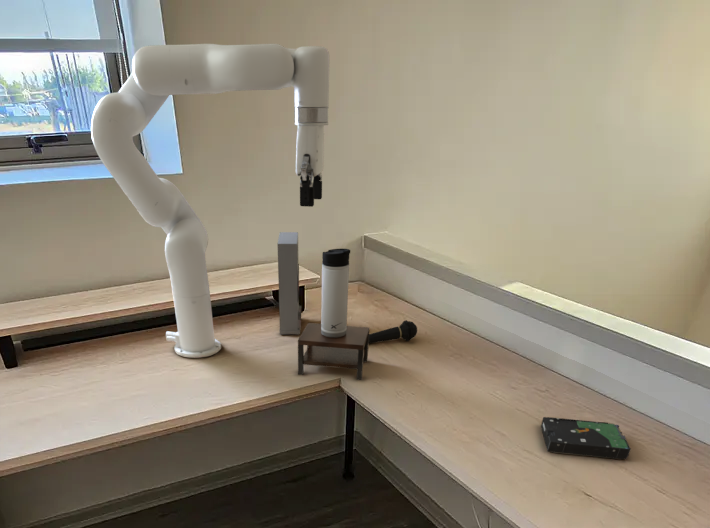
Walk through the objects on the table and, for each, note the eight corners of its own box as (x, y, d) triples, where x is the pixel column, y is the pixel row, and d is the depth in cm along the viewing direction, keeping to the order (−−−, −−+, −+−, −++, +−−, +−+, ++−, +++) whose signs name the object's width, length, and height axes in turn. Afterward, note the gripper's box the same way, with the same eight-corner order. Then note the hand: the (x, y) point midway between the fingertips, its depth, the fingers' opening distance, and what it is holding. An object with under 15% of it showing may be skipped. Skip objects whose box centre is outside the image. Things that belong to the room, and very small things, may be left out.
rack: (298, 374, 140) (297, 340, 134) (308, 355, 149) (308, 322, 144) (361, 380, 137) (363, 345, 132) (367, 360, 146) (369, 327, 141)
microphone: (350, 357, 155) (418, 343, 157) (351, 341, 151) (421, 326, 152) (345, 345, 158) (411, 330, 160) (345, 328, 154) (414, 314, 156)
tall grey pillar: (300, 335, 161) (300, 243, 146) (279, 335, 161) (277, 243, 147) (301, 318, 172) (300, 232, 158) (281, 318, 172) (279, 232, 158)
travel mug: (338, 340, 134) (341, 253, 122) (316, 334, 137) (316, 249, 126) (352, 332, 138) (356, 247, 126) (330, 326, 141) (332, 243, 130)
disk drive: (546, 454, 110) (627, 460, 107) (550, 441, 108) (632, 448, 106) (539, 427, 118) (614, 433, 116) (542, 416, 117) (618, 421, 114)
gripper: (303, 115, 130) (303, 196, 140) (285, 119, 117) (287, 208, 127) (334, 115, 129) (332, 196, 139) (320, 119, 115) (319, 209, 125)
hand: (311, 202), depth 133 cm, fingers open, 9 cm apart
